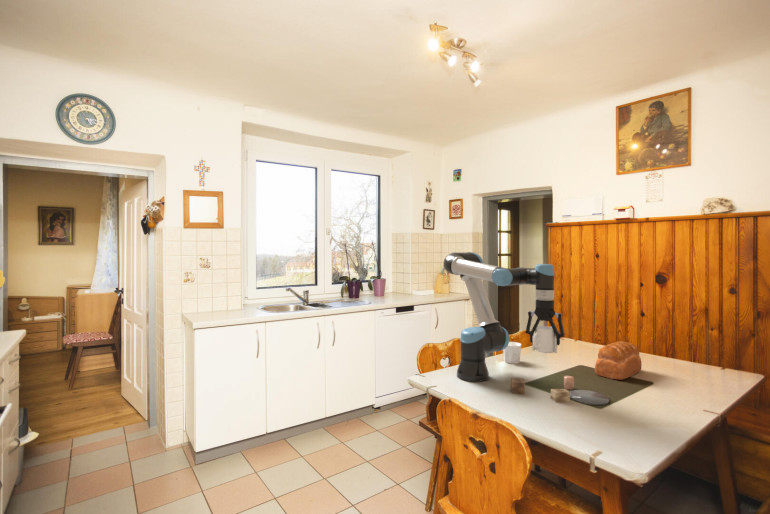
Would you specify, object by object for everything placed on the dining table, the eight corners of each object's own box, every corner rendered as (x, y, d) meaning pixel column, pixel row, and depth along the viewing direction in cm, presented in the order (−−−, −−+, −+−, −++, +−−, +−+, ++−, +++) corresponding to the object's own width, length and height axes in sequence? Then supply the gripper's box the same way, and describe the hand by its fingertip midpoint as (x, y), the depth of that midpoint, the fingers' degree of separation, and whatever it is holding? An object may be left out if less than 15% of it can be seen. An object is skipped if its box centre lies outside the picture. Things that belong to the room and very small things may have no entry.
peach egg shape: (563, 388, 173) (563, 377, 173) (564, 386, 176) (564, 375, 176) (573, 390, 171) (573, 379, 171) (574, 387, 174) (574, 376, 174)
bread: (591, 374, 193) (592, 343, 192) (614, 365, 209) (615, 336, 209) (622, 382, 182) (623, 349, 181) (644, 371, 198) (644, 341, 198)
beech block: (555, 402, 158) (555, 392, 158) (550, 398, 162) (550, 389, 162) (569, 402, 158) (569, 392, 158) (564, 398, 162) (564, 388, 162)
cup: (523, 364, 210) (523, 346, 210) (505, 364, 210) (505, 346, 210) (517, 359, 220) (517, 341, 220) (499, 359, 220) (500, 341, 220)
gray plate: (566, 400, 159) (566, 398, 159) (569, 389, 172) (569, 387, 172) (609, 408, 152) (609, 406, 152) (608, 395, 165) (608, 393, 165)
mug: (541, 355, 164) (541, 331, 164) (525, 351, 171) (525, 327, 171) (559, 351, 170) (559, 328, 170) (543, 347, 177) (543, 325, 177)
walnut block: (512, 393, 167) (512, 382, 167) (510, 389, 172) (510, 378, 172) (524, 394, 166) (524, 382, 166) (522, 390, 171) (522, 379, 171)
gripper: (518, 298, 172) (518, 350, 172) (570, 301, 161) (570, 356, 161) (521, 297, 178) (521, 346, 178) (572, 299, 168) (572, 352, 168)
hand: (544, 351), depth 170 cm, fingers closed on mug, 8 cm apart
